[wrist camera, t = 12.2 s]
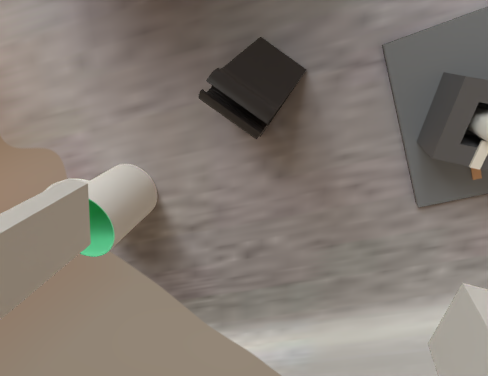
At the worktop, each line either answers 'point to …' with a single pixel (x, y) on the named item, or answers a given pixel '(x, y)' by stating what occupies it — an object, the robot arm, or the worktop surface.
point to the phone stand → (253, 86)
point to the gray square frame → (455, 122)
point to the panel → (423, 91)
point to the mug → (117, 205)
